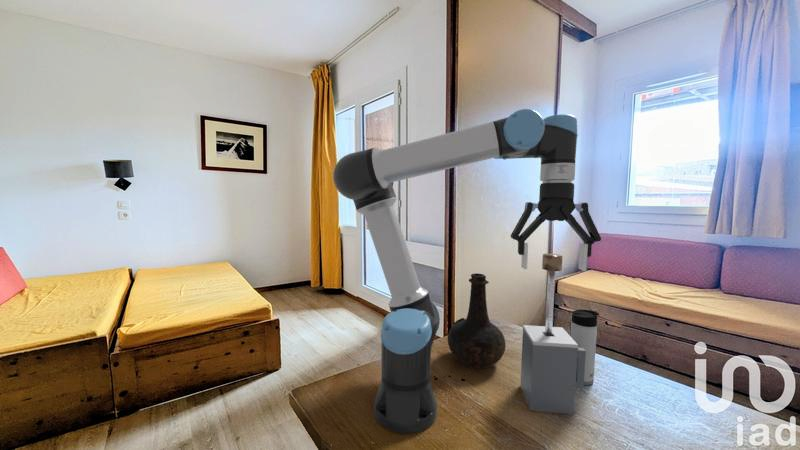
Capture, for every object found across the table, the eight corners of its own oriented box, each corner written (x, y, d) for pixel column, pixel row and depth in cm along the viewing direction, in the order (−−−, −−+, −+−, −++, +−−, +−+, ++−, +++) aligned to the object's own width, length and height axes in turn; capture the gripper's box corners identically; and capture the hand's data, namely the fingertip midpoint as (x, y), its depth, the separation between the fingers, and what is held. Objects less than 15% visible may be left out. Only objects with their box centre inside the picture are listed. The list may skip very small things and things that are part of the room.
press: (530, 410, 77) (533, 341, 76) (520, 385, 87) (523, 325, 86) (590, 415, 75) (594, 345, 74) (573, 390, 85) (576, 328, 84)
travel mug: (598, 387, 87) (603, 316, 85) (572, 384, 88) (576, 314, 86) (589, 374, 93) (593, 308, 91) (565, 372, 94) (569, 306, 92)
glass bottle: (470, 342, 113) (473, 265, 110) (516, 363, 99) (520, 275, 97) (435, 358, 102) (436, 272, 99) (481, 383, 88) (484, 285, 85)
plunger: (541, 350, 78) (545, 256, 76) (536, 342, 83) (540, 253, 81) (560, 351, 78) (565, 257, 76) (554, 343, 82) (558, 253, 80)
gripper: (506, 181, 75) (503, 270, 76) (621, 181, 71) (615, 274, 73) (500, 183, 82) (498, 263, 84) (604, 182, 78) (599, 267, 80)
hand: (552, 268), depth 78 cm, fingers open, 13 cm apart
